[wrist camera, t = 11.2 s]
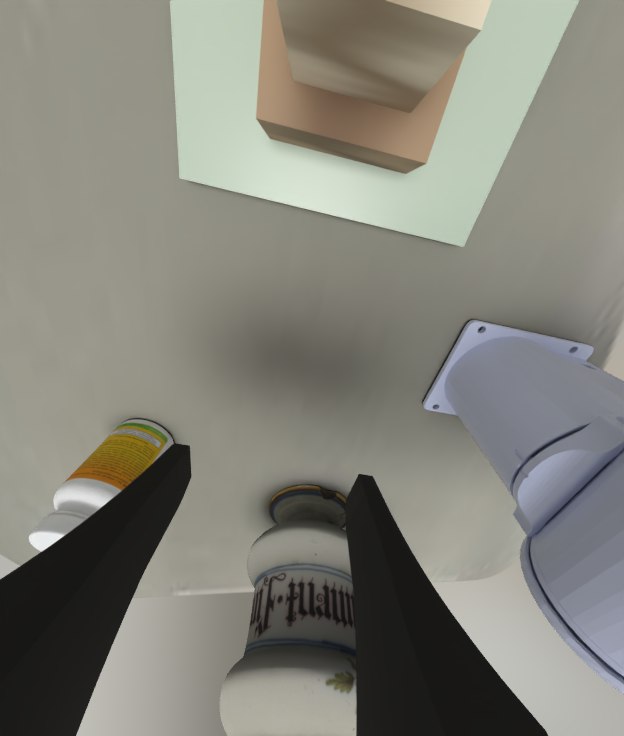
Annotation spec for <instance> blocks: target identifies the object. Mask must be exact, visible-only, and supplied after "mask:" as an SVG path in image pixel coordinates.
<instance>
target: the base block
mask: <svg viewBox="0 0 624 736" xmlns="http://www.w3.org/2000/svg"><path fill="white" fill-rule="evenodd" d="M466 48H467V47H466ZM465 51H466V49H465V50H464V51H463V52H462V53H461V55H460V56H459V57H458V58H457V59H456V60H455V62H454V63H453V64H452V65H451V66H450V67H449V69H448V70H447V71H446V72H445V73H444V74H443V76H442V77H441V78H440V79H439V80H438V82H437V83H436V84H435V85H434V86H433V87H432V89H431V90H430V91H429V92H428V93H427V94H426V96H425V97H424V98H423V99H422V100H421V101H420V103H419V104H418V105H417V106H416V107H415V108H414V110H413V111H412V112H411V113H407V112H403V111H400V110H396V109H393V108H389V107H385V106H382V105H378V104H375V103H371V102H367V101H364V100H360V99H357V98H353V97H350V96H346V95H342V94H339V93H335V92H332V91H328V90H324V89H321V88H317V87H314V86H310V85H306V84H303V83H299V82H296V81H293V76H292V72H291V67H290V63H289V58H288V53H287V49H286V44H285V39H284V35H283V30H282V25H281V21H280V16H279V11H278V7H277V2H276V0H264V4H263V19H262V34H261V49H260V64H259V80H258V95H257V110H256V119H257V121H258V122H259V124H260V125H261V126H262V128H263V129H264V131H265V132H266V134H267V135H268V137H269V138H270V139H273V140H277V141H281V142H284V143H288V144H292V145H296V146H300V147H304V148H308V149H311V150H315V151H319V152H323V153H327V154H331V155H335V156H338V157H342V158H346V159H350V160H354V161H358V162H361V163H365V164H369V165H373V166H377V167H381V168H385V169H388V170H392V171H396V172H400V173H404V174H407V173H409V172H411V171H413V170H415V169H417V168H419V167H421V166H423V165H425V164H427V161H428V158H429V155H430V152H431V149H432V146H433V143H434V141H435V138H436V135H437V132H438V129H439V126H440V123H441V120H442V117H443V115H444V112H445V109H446V106H447V103H448V100H449V97H450V94H451V91H452V89H453V86H454V83H455V80H456V77H457V74H458V71H459V68H460V65H461V63H462V60H463V57H464V54H465Z"/></svg>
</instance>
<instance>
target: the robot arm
mask: <svg viewBox="0 0 624 736" xmlns="http://www.w3.org/2000/svg"><path fill="white" fill-rule="evenodd" d="M482 326H483V328H482V330H480V331H478V329H479V328H480V327H482ZM572 347H573V348H572ZM571 348H572V349H571ZM570 349H571V350H570ZM593 351H594V348H593V347H592V346H590V345H587V344H583V343H579V342H574V341H570V340H565V339H561V338H556V337H552V336H547V335H542V334H538V333H533V332H529V331H524V330H520V329H515V328H511V327H506V326H502V325H497V324H492V323H488V322H483V321H479V320H472V321H470V322H468V323H467V324H466V326H465V328H464V329H463V331H462V333H461V335H460V337H459V338H458V340H457V342H456V344H455V346H454V347H453V349H452V351H451V353H450V355H449V356H448V358H447V360H446V362H445V364H444V365H443V367H442V369H441V371H440V373H439V375H438V376H437V378H436V380H435V382H434V384H433V385H432V387H431V389H430V391H429V393H428V394H427V396H426V398H425V400H424V402H423V406H424V408H425V409H426V410H430V411H435V412H441V413H446V414H451V415H457V416H458V417H459V418H460V420H461V421H462V423H463V424H464V426H465V427H466V428H467V430H468V431H469V433H470V434H471V436H472V437H473V439H474V440H475V442H476V443H477V445H478V446H479V448H480V449H481V451H482V452H483V454H484V455H485V456H486V458H487V459H488V461H489V462H490V464H491V465H492V467H493V468H494V470H495V471H496V473H497V474H498V476H499V477H500V479H501V480H502V482H503V483H504V484H505V486H506V487H507V489H508V490H509V492H510V493H511V495H512V496H513V498H514V499H515V501H516V503H517V508H516V510H515V511H514V513H513V515H514V516H515V518H516V519H517V521H518V523H519V524H520V526H521V527H522V529H523V530H524V532H525V533H526V535H527V536H526V538H525V539H524V540H523V543H522V546H521V549H520V561H521V568H522V571H523V574H524V577H525V580H526V583H527V585H528V587H529V589H530V592H531V594H532V596H533V597H534V599H535V601H536V603H537V604H538V606H539V608H540V609H541V611H542V612H543V614H544V615H545V617H546V618H547V620H548V621H549V622H550V624H551V625H552V626H553V628H554V629H555V630H556V631H557V633H558V634H559V635H560V636H561V638H562V639H563V640H564V641H565V642H566V643H567V645H568V646H569V647H570V648H571V649H572V650H573V651H574V652H575V653H576V654H577V655H578V656H579V658H581V659H582V660H583V661H584V662H585V663H586V664H587V665H588V666H589V667H590V668H591V669H592V670H593V671H595V672H596V673H597V674H598V675H599V676H600V677H602V678H603V679H604V680H605V681H606V682H608V683H609V684H610V685H611V686H613V687H614V688H615V689H617V690H618V691H620V692H621V693H622V694H624V381H622V380H620V379H618V378H616V377H614V376H613V375H611V374H609V373H607V372H605V371H604V370H602V369H600V368H598V367H596V366H595V365H593V364H591V363H589V362H587V361H586V360H587V359H588V358H589V357H590V355H591V354H592V353H593ZM436 404H437V405H436ZM434 405H436V406H434ZM190 479H191V461H190V446H188V445H182V444H176V443H174V444H172V445H171V446H170V447H169V448H168V449H167V450H166V451H165V452H164V453H163V454H162V455H161V456H160V457H159V458H158V459H157V460H156V461H154V462H153V463H152V464H151V465H150V466H149V467H148V468H147V469H146V470H145V471H144V472H142V473H141V474H140V475H139V476H138V477H137V478H136V479H134V480H133V481H132V482H131V483H130V484H129V485H128V486H126V487H125V488H124V489H123V490H122V491H121V492H119V493H118V494H117V495H116V496H115V497H113V498H112V499H111V500H110V501H108V502H107V503H106V504H105V505H104V506H102V507H101V508H100V509H99V510H97V511H96V512H95V513H94V514H92V515H91V516H90V517H89V518H87V519H86V520H85V521H83V522H82V523H81V524H79V525H78V526H77V527H75V528H74V529H73V530H71V531H70V532H69V533H67V534H66V535H64V536H63V537H62V538H60V539H59V540H58V541H56V542H55V543H53V544H52V545H51V546H49V547H48V548H46V549H45V550H43V551H42V552H40V553H39V554H38V555H36V556H35V557H33V558H32V559H30V560H29V561H27V562H26V563H24V564H23V565H22V566H20V567H19V568H17V569H16V570H14V571H13V572H11V573H9V574H8V575H6V576H5V577H3V578H2V579H0V736H76V734H77V732H78V729H79V726H80V724H81V721H82V719H83V716H84V713H85V711H86V708H87V706H88V703H89V701H90V698H91V696H92V693H93V691H94V688H95V686H96V683H97V681H98V678H99V676H100V673H101V671H102V668H103V666H104V664H105V661H106V659H107V656H108V654H109V651H110V649H111V646H112V644H113V642H114V639H115V637H116V635H117V632H118V630H119V628H120V625H121V623H122V620H123V618H124V615H125V613H126V611H127V609H128V606H129V604H130V602H131V600H132V598H133V595H134V593H135V591H136V589H137V586H138V584H139V582H140V579H141V577H142V575H143V573H144V571H145V569H146V567H147V565H148V563H149V561H150V559H151V558H152V556H153V554H154V552H155V550H156V548H157V546H158V545H159V543H160V541H161V539H162V537H163V535H164V533H165V531H166V530H167V528H168V526H169V524H170V522H171V520H172V518H173V516H174V515H175V513H176V511H177V509H178V507H179V505H180V503H181V501H182V498H183V496H184V494H185V491H186V489H187V486H188V484H189V481H190ZM346 532H347V541H348V550H349V559H350V567H351V576H352V585H353V595H354V610H355V637H356V701H357V718H356V736H548V734H547V732H546V731H545V729H544V728H543V727H542V726H541V725H540V724H539V723H538V721H537V720H536V719H535V718H534V717H533V715H532V714H531V713H530V712H529V711H528V710H527V708H526V707H525V706H524V705H523V704H522V703H521V701H520V700H519V699H518V698H517V697H516V695H515V694H514V693H513V692H512V691H511V690H510V688H509V687H508V686H507V685H506V684H505V682H504V681H503V680H502V679H501V678H500V676H499V675H498V674H497V672H496V671H495V670H494V669H493V667H492V666H491V665H490V664H489V662H488V661H487V660H486V659H485V657H484V656H483V655H482V653H481V652H480V651H479V650H478V648H477V647H476V645H475V644H474V643H473V642H472V640H471V639H470V638H469V636H468V635H467V633H466V632H465V631H464V629H463V628H462V627H461V625H460V624H459V623H458V621H457V620H456V619H455V617H454V616H453V615H452V613H451V612H450V610H449V609H448V608H447V606H446V605H445V603H444V602H443V600H442V599H441V597H440V596H439V594H438V593H437V592H436V590H435V588H434V587H433V585H432V584H431V582H430V581H429V579H428V578H427V576H426V574H425V573H424V571H423V570H422V568H421V566H420V565H419V563H418V561H417V560H416V558H415V556H414V555H413V553H412V551H411V550H410V548H409V546H408V544H407V542H406V541H405V539H404V537H403V535H402V533H401V532H400V530H399V528H398V526H397V524H396V522H395V520H394V518H393V517H392V515H391V513H390V511H389V509H388V507H387V505H386V503H385V501H384V499H383V496H382V494H381V492H380V490H379V488H378V486H377V484H376V482H375V480H374V478H373V476H368V475H362V474H359V475H358V477H357V479H356V481H355V483H354V485H353V487H352V489H351V491H350V493H349V495H348V497H347V499H346Z"/></svg>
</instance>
